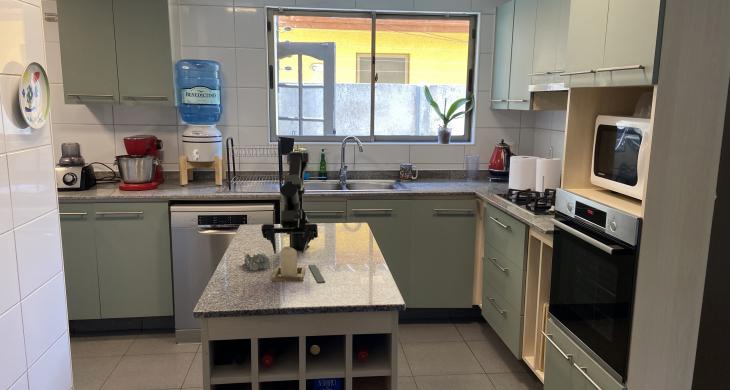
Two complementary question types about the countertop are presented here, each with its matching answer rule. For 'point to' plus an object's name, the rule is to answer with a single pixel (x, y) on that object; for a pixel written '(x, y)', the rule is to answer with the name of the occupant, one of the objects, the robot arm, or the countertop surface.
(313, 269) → the strip
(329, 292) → the countertop surface
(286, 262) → the candle
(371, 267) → the countertop surface
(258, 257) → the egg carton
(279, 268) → the keeper frame
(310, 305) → the countertop surface
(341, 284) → the countertop surface
